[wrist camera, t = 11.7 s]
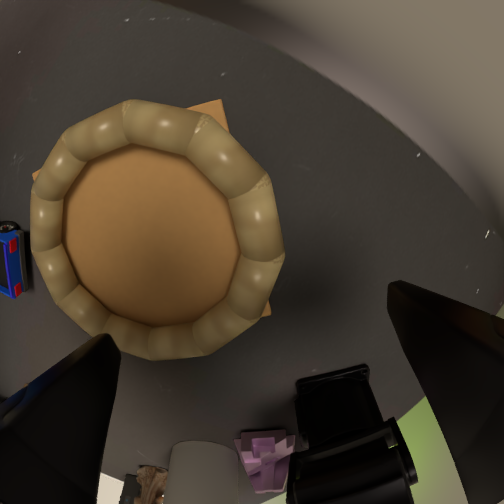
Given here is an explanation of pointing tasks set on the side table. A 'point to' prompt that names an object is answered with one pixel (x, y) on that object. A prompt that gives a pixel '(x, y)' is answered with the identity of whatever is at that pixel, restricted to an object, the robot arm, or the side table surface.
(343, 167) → the side table surface
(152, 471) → the figurine
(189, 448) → the cup
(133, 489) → the walkie-talkie
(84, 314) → the segmented tan ring
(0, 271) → the toy car
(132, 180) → the mat
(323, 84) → the side table surface
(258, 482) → the purple jagged faceted chunk
